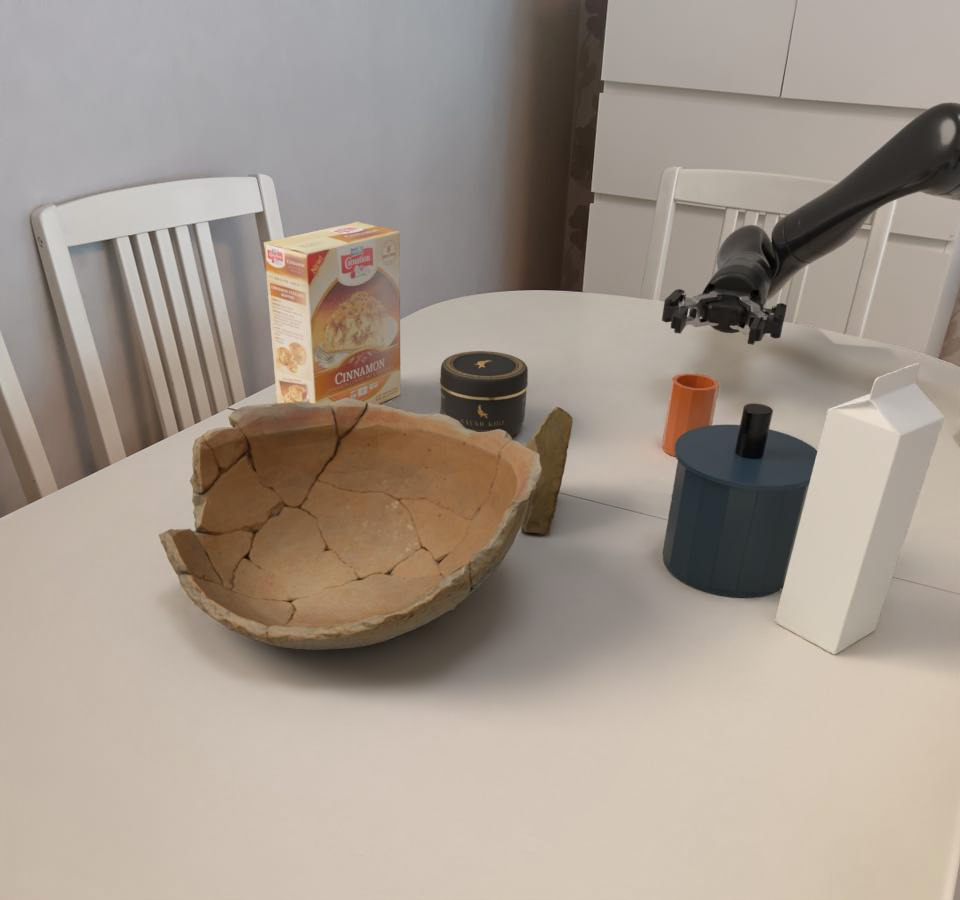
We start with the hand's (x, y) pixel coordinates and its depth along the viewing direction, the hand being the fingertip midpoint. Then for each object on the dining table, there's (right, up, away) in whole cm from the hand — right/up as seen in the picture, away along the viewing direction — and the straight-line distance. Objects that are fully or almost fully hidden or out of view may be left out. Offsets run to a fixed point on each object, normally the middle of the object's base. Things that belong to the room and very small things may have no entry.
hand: (714, 330), depth 112 cm
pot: (-5, -29, -23) cm, 37 cm away
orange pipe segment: (-4, -14, -2) cm, 15 cm away
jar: (-27, -11, +1) cm, 29 cm away
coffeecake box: (-44, -7, +6) cm, 45 cm away
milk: (+2, -35, -31) cm, 46 cm away
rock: (-22, -23, -15) cm, 35 cm away
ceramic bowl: (-38, -31, -28) cm, 57 cm away
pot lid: (-4, -20, -29) cm, 35 cm away
